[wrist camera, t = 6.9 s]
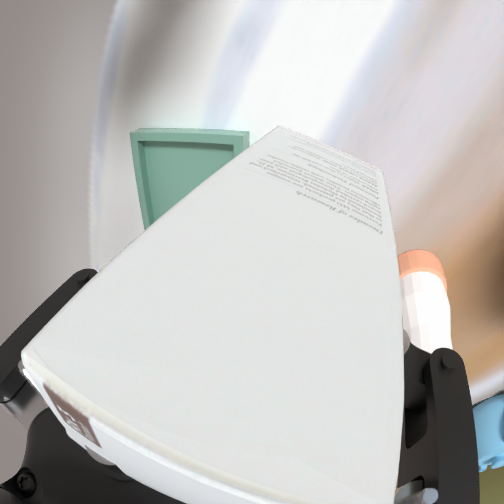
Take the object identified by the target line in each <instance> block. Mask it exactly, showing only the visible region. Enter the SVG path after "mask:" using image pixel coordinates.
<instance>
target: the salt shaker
mask: <svg viewBox="0 0 504 504" xmlns="http://www.w3.org/2000/svg"><path fill="white" fill-rule="evenodd" d="M397 258H398V266H399V275H400V285H401V298H402V316H403V329H404V330H405V331H406V332H407V334H408V335H409V338H410V342H411V343H412V344H413V345H415V346H416V347H418V348H420V349H422V350H424V351H426V352H429V353H431V354H432V352H433V351H434V350H436V349H438V348H449V349H452V342H451V336H450V304H449V301H448V297H447V294H446V293H447V282H446V278H445V275H444V271H443V268H442V265H441V263H440V261H439V259H438V258H437V257H436V256H435V255H434V254H432V253H430V252H427V251H425V250H412V251H407V252H405V253H403V254H401V255H399V256H398V257H397ZM452 350H453V349H452Z"/></svg>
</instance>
